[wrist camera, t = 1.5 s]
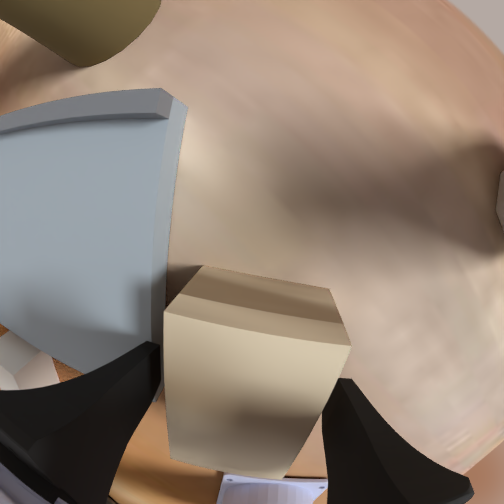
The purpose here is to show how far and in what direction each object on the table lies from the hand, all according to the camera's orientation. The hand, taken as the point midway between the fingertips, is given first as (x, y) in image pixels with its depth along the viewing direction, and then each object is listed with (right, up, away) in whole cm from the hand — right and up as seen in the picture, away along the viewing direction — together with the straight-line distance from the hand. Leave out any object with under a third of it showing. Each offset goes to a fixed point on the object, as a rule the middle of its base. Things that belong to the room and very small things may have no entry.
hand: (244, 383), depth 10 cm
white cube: (-16, -3, +4) cm, 16 cm away
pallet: (0, 0, +2) cm, 2 cm away
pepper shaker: (-7, +17, -2) cm, 18 cm away
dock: (-10, +6, +1) cm, 12 cm away
